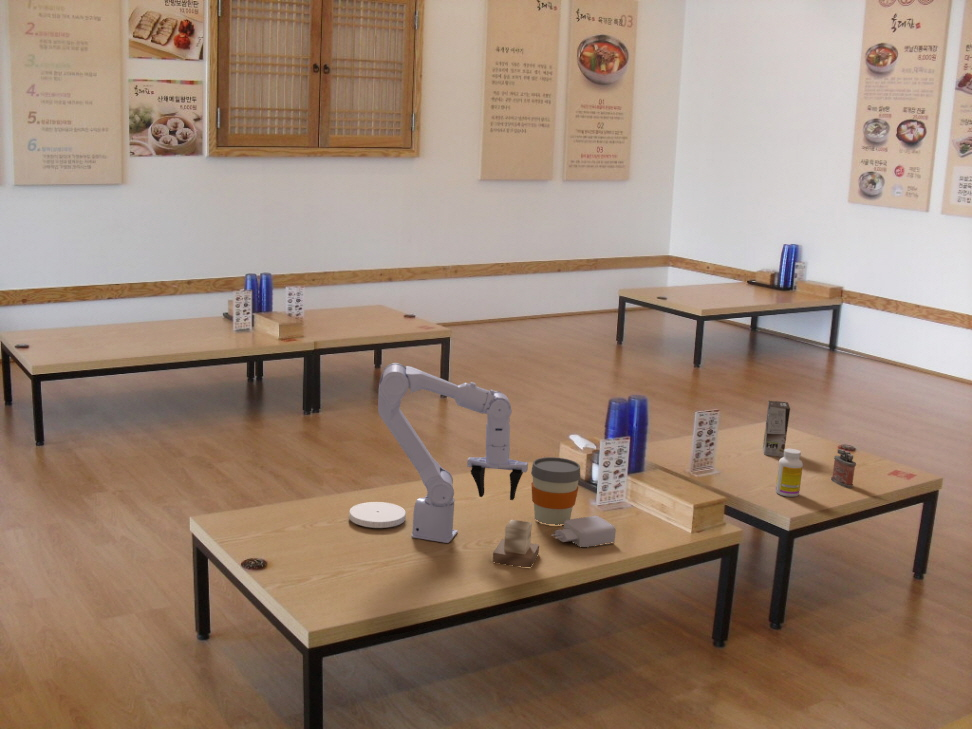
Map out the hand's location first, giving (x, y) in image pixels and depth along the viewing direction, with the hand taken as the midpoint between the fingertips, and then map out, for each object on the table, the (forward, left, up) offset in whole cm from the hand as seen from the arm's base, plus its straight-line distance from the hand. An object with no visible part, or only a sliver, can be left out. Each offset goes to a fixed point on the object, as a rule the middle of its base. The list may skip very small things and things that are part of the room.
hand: (497, 497), depth 263 cm
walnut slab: (+8, -10, -11) cm, 17 cm away
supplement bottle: (+70, +67, -11) cm, 97 cm away
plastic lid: (-30, -1, -11) cm, 32 cm away
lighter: (+86, +84, -11) cm, 120 cm away
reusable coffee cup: (+11, +18, -11) cm, 23 cm away
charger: (+20, +6, -11) cm, 23 cm away
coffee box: (+66, +108, -11) cm, 127 cm away
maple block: (+8, -11, -8) cm, 15 cm away
